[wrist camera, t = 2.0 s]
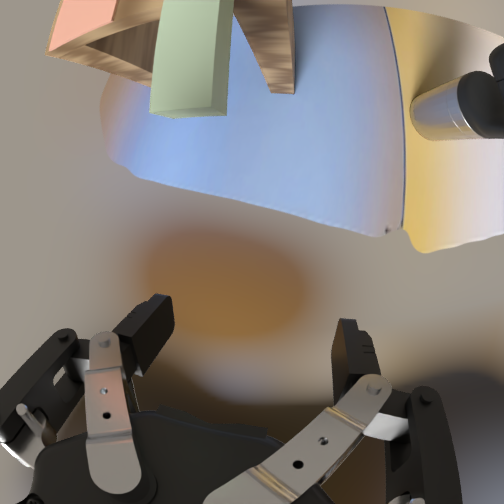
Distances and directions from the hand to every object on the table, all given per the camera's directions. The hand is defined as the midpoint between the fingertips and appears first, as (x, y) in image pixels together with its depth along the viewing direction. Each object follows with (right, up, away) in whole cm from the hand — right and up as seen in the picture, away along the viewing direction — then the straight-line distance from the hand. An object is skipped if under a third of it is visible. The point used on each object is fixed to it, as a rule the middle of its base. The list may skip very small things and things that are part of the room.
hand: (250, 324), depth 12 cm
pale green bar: (-3, +21, -1) cm, 21 cm away
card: (-14, +26, -1) cm, 30 cm away
